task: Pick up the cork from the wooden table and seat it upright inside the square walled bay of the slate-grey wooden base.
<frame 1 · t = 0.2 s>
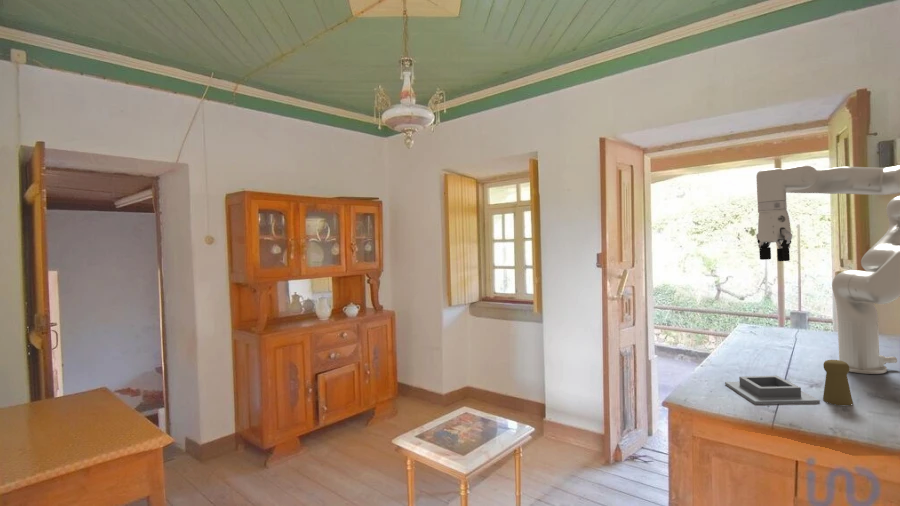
hand: (774, 260, 141), 36 cm above the table, tool pointing down, fingers open, 9 cm apart
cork: (837, 402, 116), on the table
bay base: (769, 393, 124), on the table
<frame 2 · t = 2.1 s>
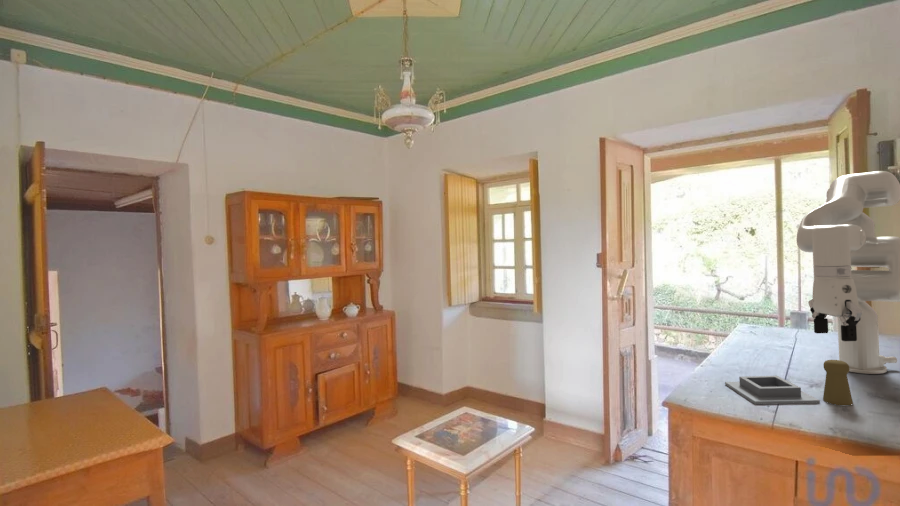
hand: (834, 336, 115), 17 cm above the table, tool pointing down, fingers open, 9 cm apart
nothing on the table moved.
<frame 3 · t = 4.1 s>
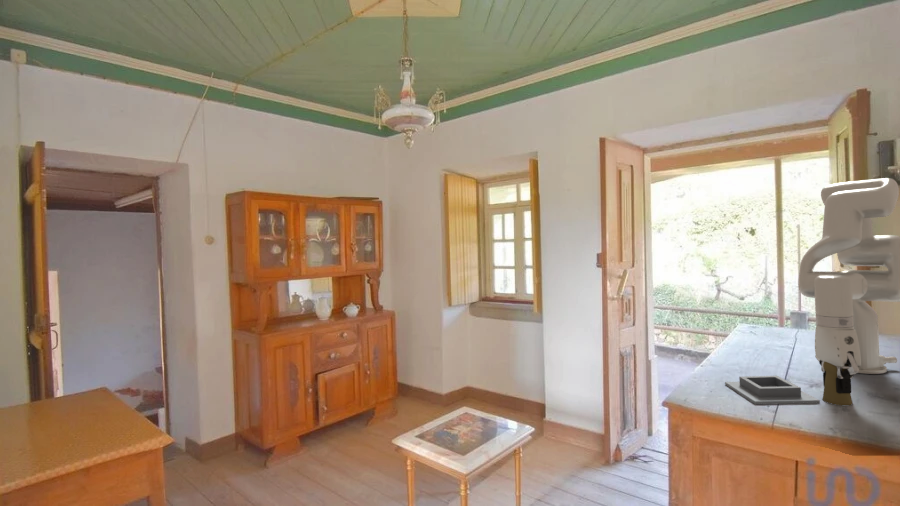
hand: (837, 389, 116), 3 cm above the table, tool pointing down, fingers closed on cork, 3 cm apart
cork: (837, 402, 116), on the table, touching gripper
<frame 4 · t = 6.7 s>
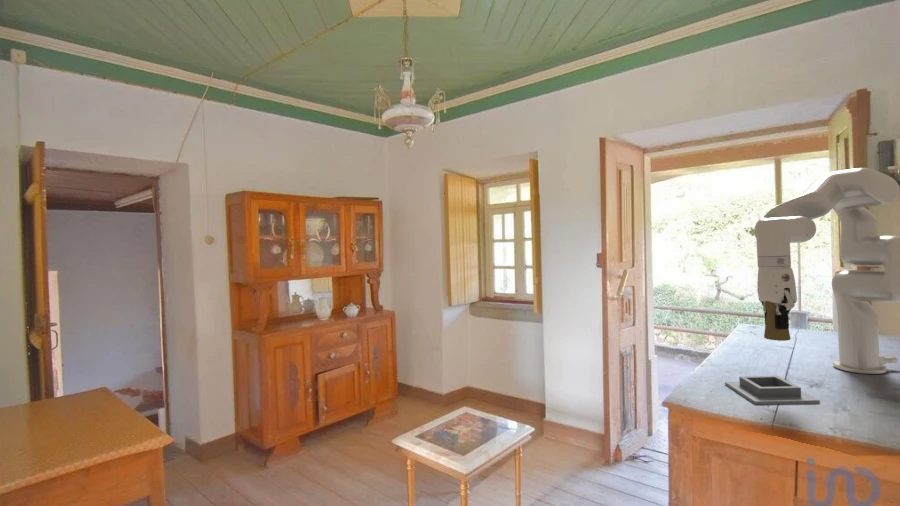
hand: (776, 326, 122), 19 cm above the table, tool pointing down, fingers closed on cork, 3 cm apart
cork: (777, 338, 123), point 16 cm above the table, touching gripper
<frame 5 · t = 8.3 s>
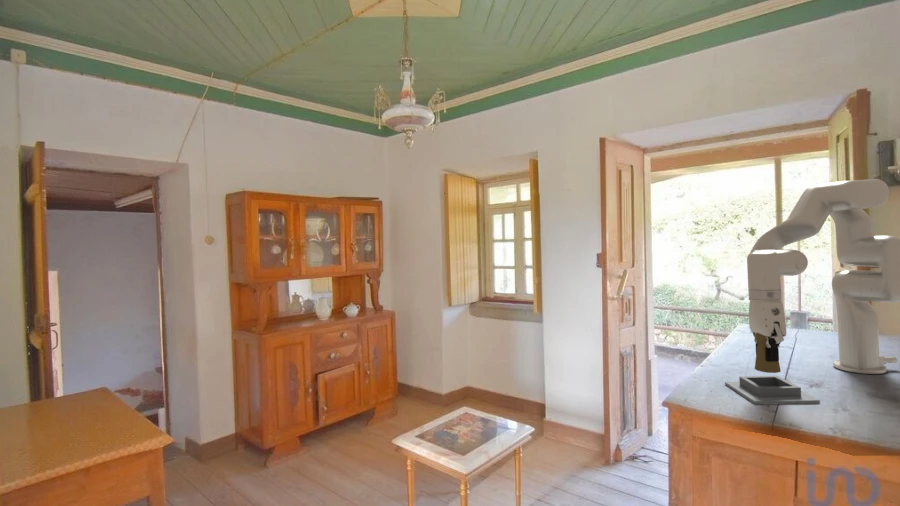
hand: (767, 358, 124), 10 cm above the table, tool pointing down, fingers closed on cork, 3 cm apart
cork: (767, 370, 124), point 7 cm above the table, touching gripper
when the fingers open (5 cm above the table, at t = 9.7 s): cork stays where it is, resting on bay base.
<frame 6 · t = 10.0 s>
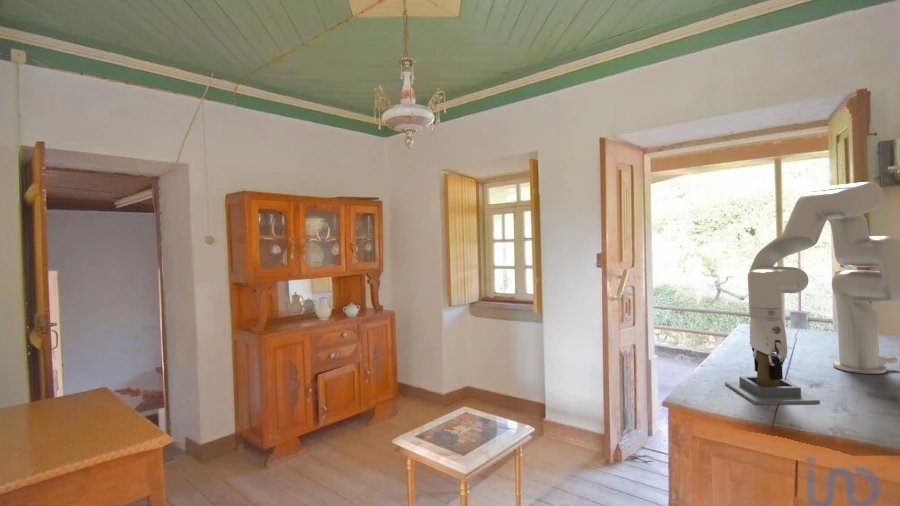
hand: (768, 374, 124), 5 cm above the table, tool pointing down, fingers open, 6 cm apart
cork: (768, 390, 125), point 1 cm above the table, touching bay base
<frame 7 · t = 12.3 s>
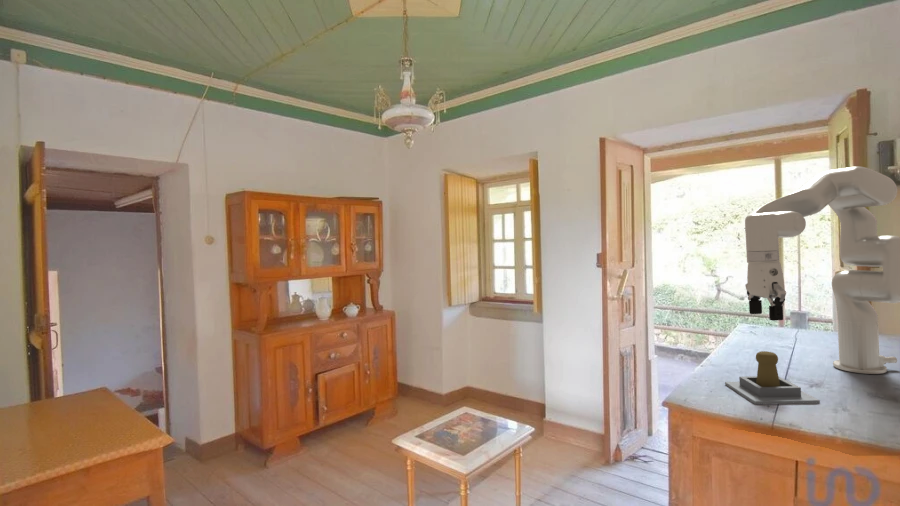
hand: (765, 316, 124), 22 cm above the table, tool pointing down, fingers open, 9 cm apart
nothing on the table moved.
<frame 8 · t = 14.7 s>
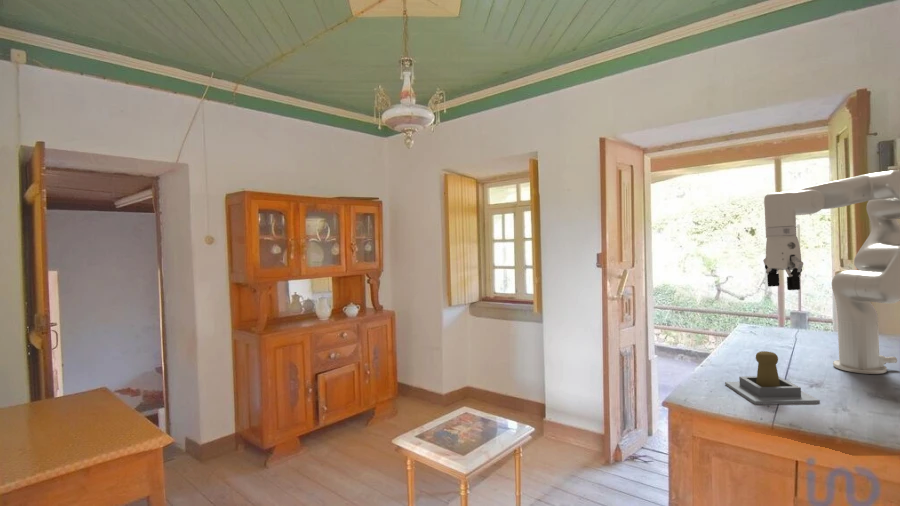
hand: (783, 287, 134), 28 cm above the table, tool pointing down, fingers open, 9 cm apart
nothing on the table moved.
at the end: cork 0.3 cm off-centre on the bay base, point 0.6 cm above the bay base's base; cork tilted 0°; the gripper is holding nothing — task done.
